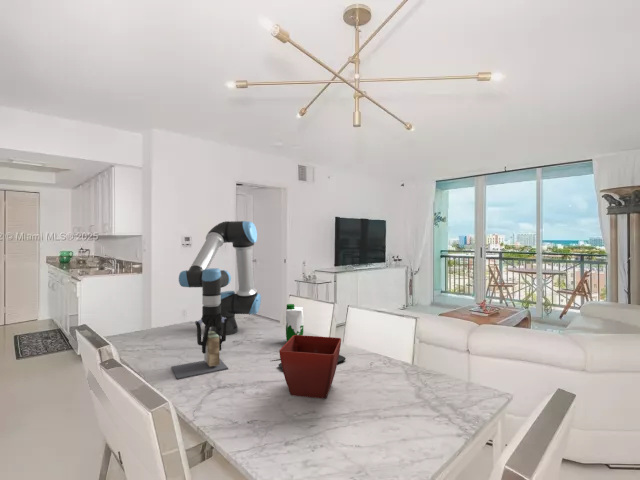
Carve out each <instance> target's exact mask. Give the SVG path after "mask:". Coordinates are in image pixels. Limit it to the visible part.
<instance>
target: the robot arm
mask: <svg viewBox="0 0 640 480" xmlns="http://www.w3.org/2000/svg"><path fill="white" fill-rule="evenodd" d="M257 241H258V232H257V228H256V225H255V223H253V222H252V221H246V220H239V221H238V220H237V221H236V220H235V221H232V220H231V221H229V220H228V221H227V220H225V221H222V222H220V223H218V224H216V225H215V226H213V227H212V228H211V229H210V230H209V231H207V234H206V235H205V241H204V243H203V245H202V246H201V248H200V249H199V251H198V253H197V255H196V257H195V258H194V260H193V262H192V264H191V266H190V267H189V269H188V270H187V269H186V270H182V271H181V272H180V273H179V275H178V283H179V286H180V287H183V288H201V289H202V290H201V292H202V298H201V299H202V308H201V309H202V317H200V319H199V320H198V321H197V320H196V321H195V322H194V323H195V326H196V341H197V342H196V343H197V345H198V346H201V353H202V354H203V355H204V357H203V358H204V360H205V361H206V362H207V361H208V346H207V345H206V342H207V337H208V332H211V331H214V332H215V333H216V334H218V335H219V352H220V351H222V344H223V343H224V342H226V340H227V336H228V335H233V334H236V333H237V332H238V331H239V327H238V324H237V322H236V317H235V315H257V313H259V310H260V307H261V302H262V296H261V294H260V293H258V290H257V288H255V282H254V281H255V280H254V268H253V266H254V265H253V263H254V262H253V251H252V250H253V249H252V248H253V247H254V246H255V243H257ZM225 243H232V247H233V248H234V249H235V257H236V269H237V280H238V281H237V282H238V289H237V291H236V292H235V290H226V291H225V290H224V291H221V288H225V287H227V286H228V285H229V284H230V283H231V281H232V276H231V273H230V272H228V270H224V269H223V270H221V269H220V268H216V267H215V268H213V267H212V268H210V266H211V264H212V261H213V259H214V258H215V256H216V255H217V252H218V250H219V248H221V247H222V246H223V245H224V244H225ZM202 324H203V325H204V331H203V336H202V327H201V326H202ZM204 360H203V361H204Z"/></svg>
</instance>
